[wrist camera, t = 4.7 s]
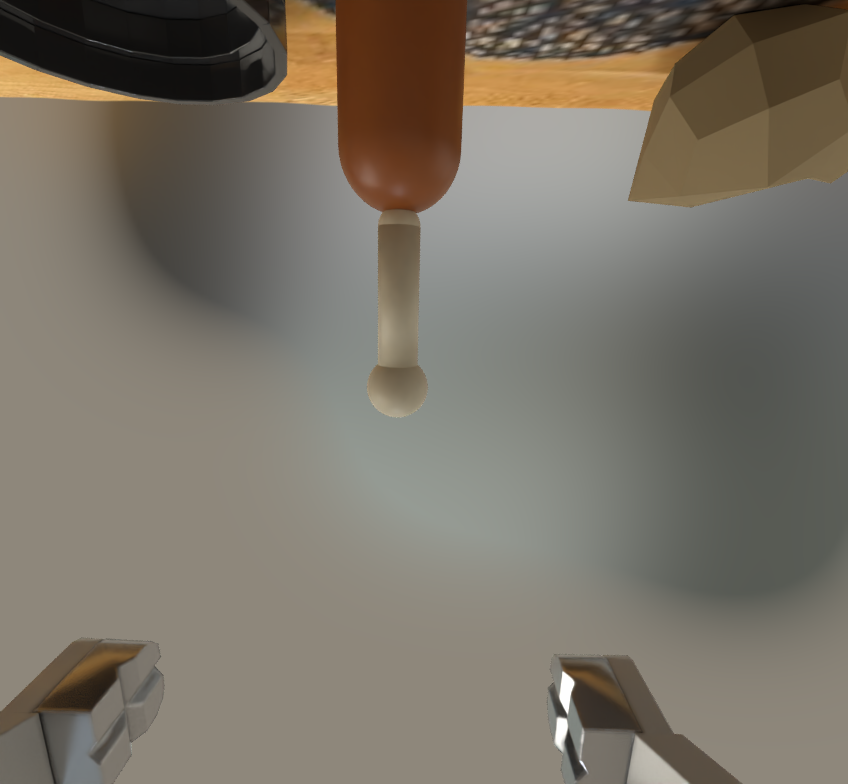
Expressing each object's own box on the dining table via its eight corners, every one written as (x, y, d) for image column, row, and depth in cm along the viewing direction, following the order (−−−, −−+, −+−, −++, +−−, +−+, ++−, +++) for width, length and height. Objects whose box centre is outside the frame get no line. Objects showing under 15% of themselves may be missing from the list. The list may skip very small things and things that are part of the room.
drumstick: (346, -99, 18) (353, 401, 23) (315, -245, 13) (332, 431, 18) (467, -96, 18) (448, 403, 23) (481, -242, 13) (453, 434, 18)
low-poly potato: (606, 33, 27) (618, 168, 37) (637, 168, 23) (641, 277, 33) (940, -126, 21) (847, 87, 30) (1053, 25, 17) (907, 211, 27)
